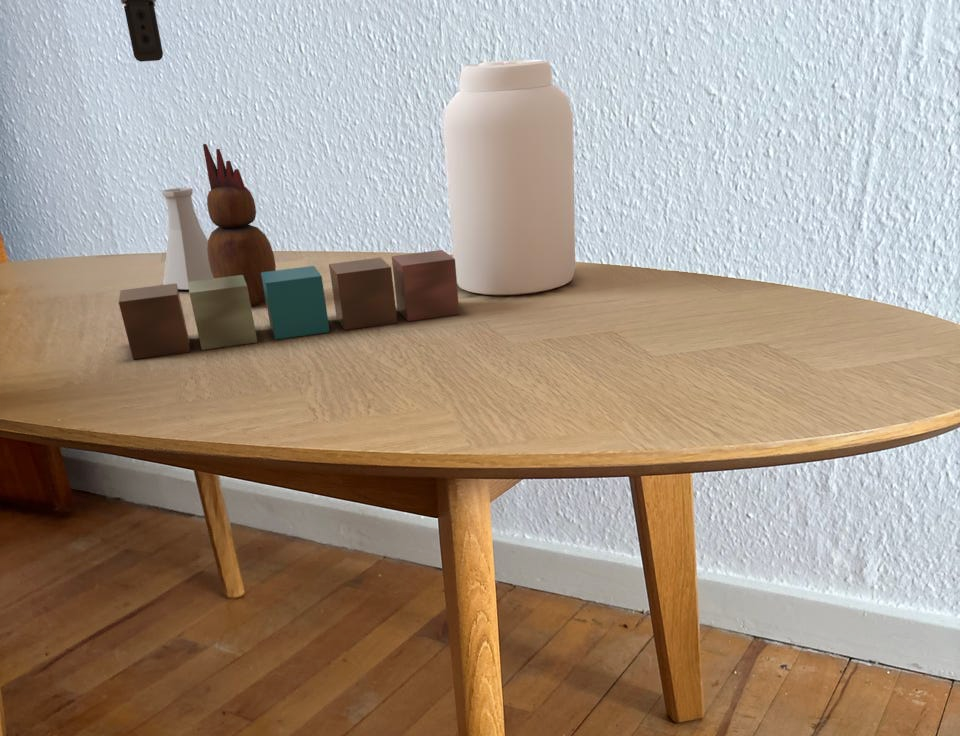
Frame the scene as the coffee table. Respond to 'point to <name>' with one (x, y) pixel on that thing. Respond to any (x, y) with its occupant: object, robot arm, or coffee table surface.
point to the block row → (228, 313)
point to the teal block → (295, 302)
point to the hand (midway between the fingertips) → (150, 60)
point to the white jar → (510, 179)
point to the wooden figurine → (235, 229)
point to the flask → (184, 241)
